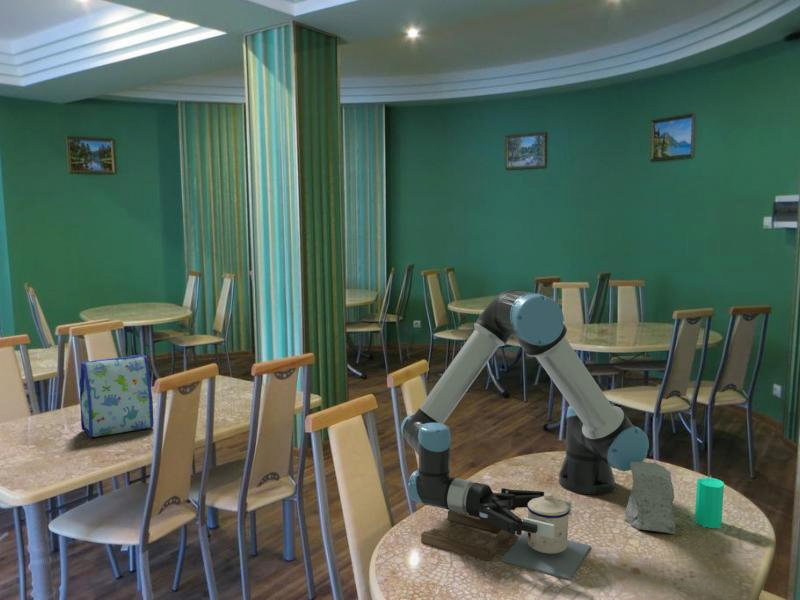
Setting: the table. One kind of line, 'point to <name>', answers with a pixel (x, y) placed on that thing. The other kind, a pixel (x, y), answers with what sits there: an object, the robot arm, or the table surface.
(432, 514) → the table surface
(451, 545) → the walnut u-shaped frame
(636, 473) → the decorative stone
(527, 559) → the slate mat
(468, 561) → the table surface
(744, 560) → the table surface
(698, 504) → the candle
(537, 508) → the teacup with lid
